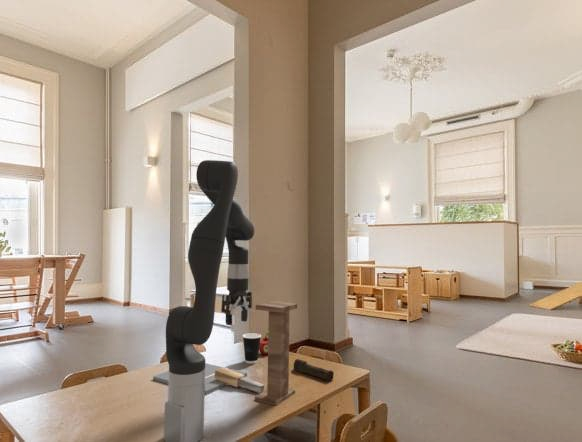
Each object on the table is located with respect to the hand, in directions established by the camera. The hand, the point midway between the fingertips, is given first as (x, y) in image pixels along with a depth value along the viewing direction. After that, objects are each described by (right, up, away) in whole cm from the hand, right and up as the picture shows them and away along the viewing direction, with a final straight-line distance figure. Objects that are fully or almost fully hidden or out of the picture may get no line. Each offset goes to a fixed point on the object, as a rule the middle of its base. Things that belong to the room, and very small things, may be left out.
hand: (236, 323), depth 139 cm
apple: (+7, -25, +40) cm, 47 cm away
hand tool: (+27, -23, +11) cm, 37 cm away
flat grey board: (-14, -22, +7) cm, 27 cm away
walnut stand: (+14, -22, -10) cm, 28 cm away
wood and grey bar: (+1, -18, -1) cm, 18 cm away
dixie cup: (+2, -24, +27) cm, 36 cm away
